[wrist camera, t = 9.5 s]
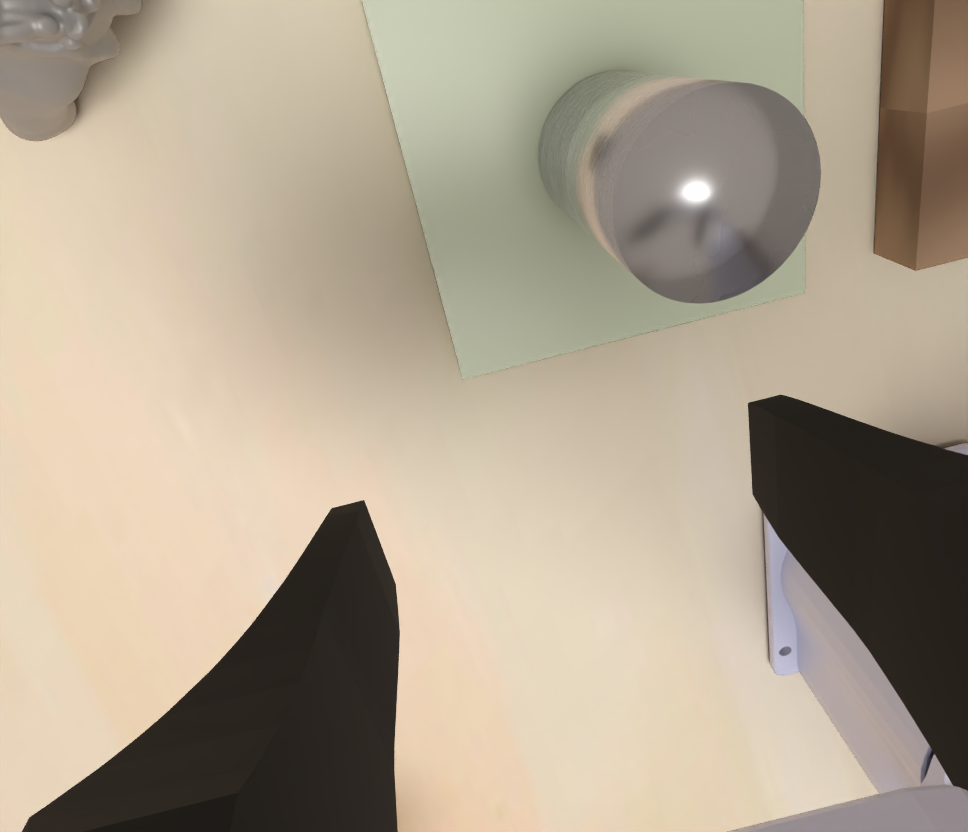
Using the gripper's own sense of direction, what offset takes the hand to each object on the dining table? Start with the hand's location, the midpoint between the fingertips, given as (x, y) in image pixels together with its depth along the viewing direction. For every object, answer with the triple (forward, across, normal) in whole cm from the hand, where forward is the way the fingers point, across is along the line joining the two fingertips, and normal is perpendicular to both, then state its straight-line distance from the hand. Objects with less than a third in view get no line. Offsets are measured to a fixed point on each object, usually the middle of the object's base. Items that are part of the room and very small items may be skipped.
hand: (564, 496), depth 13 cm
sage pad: (+10, -4, -4) cm, 11 cm away
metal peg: (+9, -4, -4) cm, 11 cm away
